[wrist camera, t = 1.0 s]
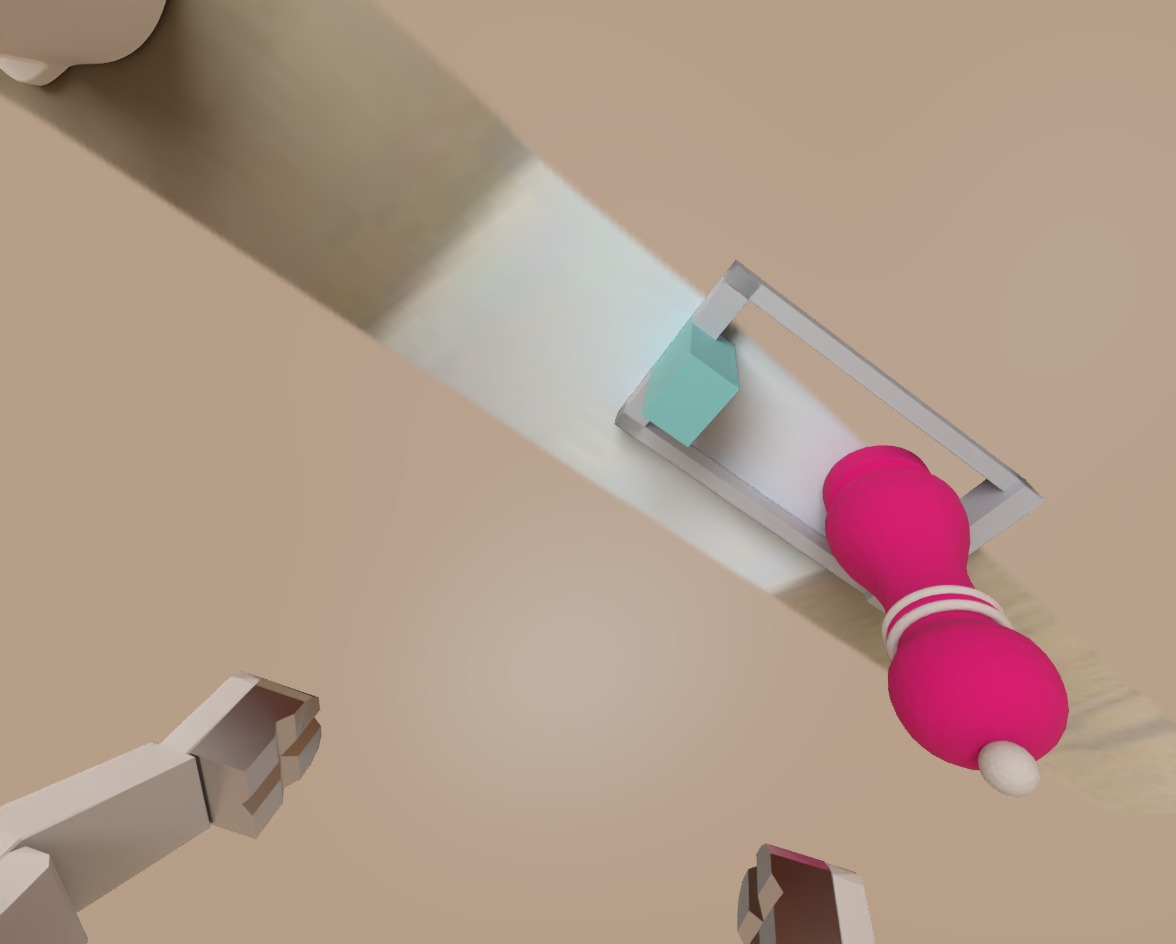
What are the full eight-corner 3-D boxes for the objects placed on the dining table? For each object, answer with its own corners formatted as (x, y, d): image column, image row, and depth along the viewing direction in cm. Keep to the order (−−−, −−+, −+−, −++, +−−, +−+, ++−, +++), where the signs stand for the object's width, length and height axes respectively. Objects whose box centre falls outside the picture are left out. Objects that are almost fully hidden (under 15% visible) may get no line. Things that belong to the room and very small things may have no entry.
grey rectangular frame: (618, 412, 37) (601, 464, 31) (735, 259, 31) (742, 287, 25) (875, 588, 40) (904, 666, 34) (1024, 479, 35) (1090, 550, 29)
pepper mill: (944, 522, 37) (1146, 850, 20) (825, 543, 39) (915, 853, 22) (931, 423, 34) (1156, 710, 17) (804, 453, 36) (889, 731, 19)
